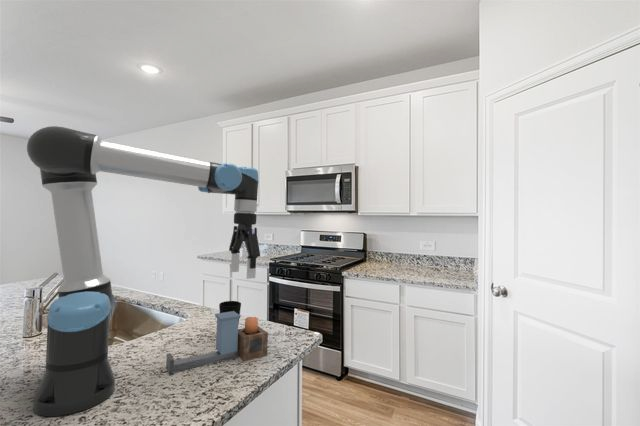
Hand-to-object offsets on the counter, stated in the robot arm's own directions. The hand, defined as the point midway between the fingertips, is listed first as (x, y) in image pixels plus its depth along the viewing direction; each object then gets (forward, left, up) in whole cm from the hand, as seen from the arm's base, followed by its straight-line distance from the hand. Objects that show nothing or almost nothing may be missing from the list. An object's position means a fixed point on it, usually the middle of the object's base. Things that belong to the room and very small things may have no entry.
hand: (242, 274), depth 107 cm
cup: (-1, +9, -24) cm, 26 cm away
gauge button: (0, -8, -17) cm, 19 cm away
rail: (-13, -7, -24) cm, 28 cm away
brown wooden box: (0, -8, -24) cm, 25 cm away
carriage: (-7, -7, -22) cm, 24 cm away
